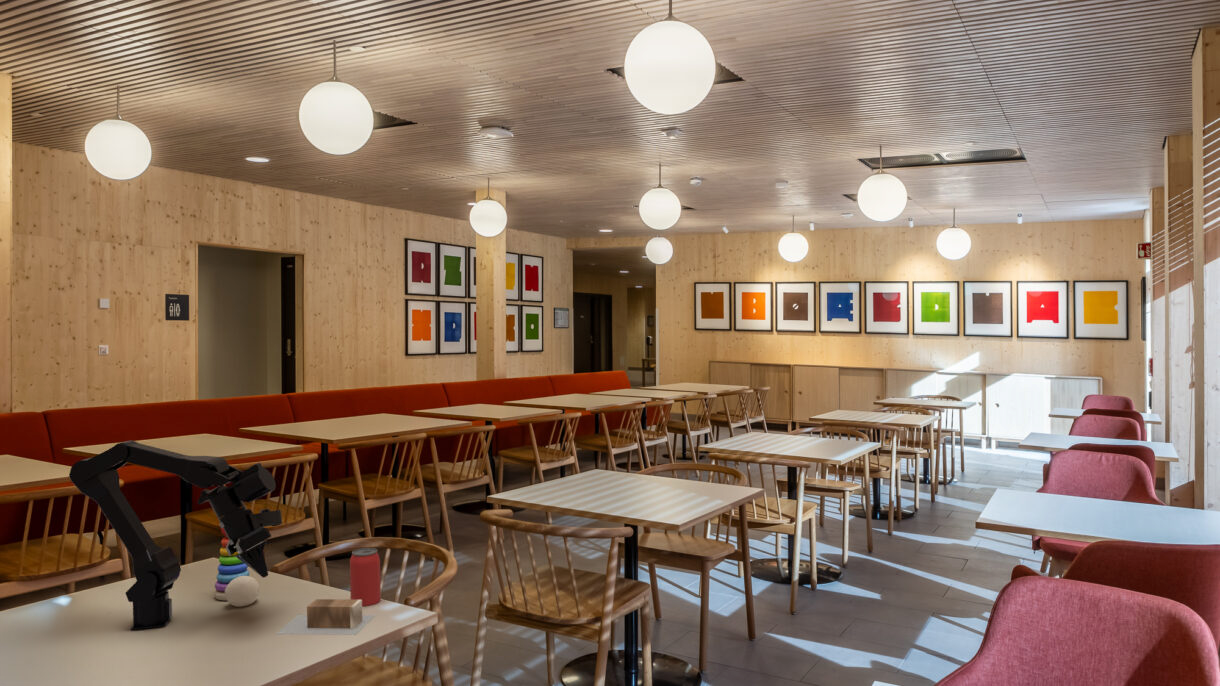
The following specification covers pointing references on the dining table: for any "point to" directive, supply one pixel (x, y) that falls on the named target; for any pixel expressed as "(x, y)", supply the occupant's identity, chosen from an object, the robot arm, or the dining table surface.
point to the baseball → (242, 591)
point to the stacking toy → (228, 569)
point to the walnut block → (334, 613)
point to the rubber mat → (300, 627)
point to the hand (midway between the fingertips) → (265, 576)
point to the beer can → (365, 576)
